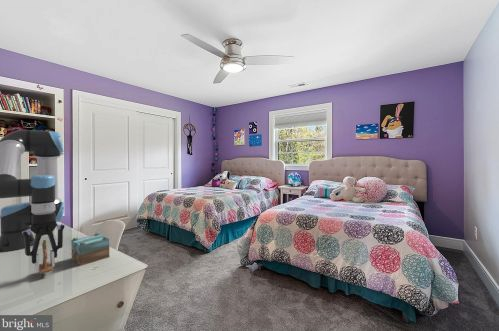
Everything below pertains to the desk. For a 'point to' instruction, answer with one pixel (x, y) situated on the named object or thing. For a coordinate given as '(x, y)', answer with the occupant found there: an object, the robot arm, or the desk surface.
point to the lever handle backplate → (44, 261)
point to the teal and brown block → (90, 249)
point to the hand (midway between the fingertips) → (44, 268)
